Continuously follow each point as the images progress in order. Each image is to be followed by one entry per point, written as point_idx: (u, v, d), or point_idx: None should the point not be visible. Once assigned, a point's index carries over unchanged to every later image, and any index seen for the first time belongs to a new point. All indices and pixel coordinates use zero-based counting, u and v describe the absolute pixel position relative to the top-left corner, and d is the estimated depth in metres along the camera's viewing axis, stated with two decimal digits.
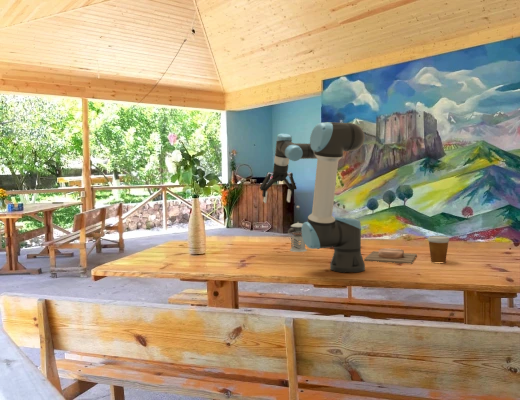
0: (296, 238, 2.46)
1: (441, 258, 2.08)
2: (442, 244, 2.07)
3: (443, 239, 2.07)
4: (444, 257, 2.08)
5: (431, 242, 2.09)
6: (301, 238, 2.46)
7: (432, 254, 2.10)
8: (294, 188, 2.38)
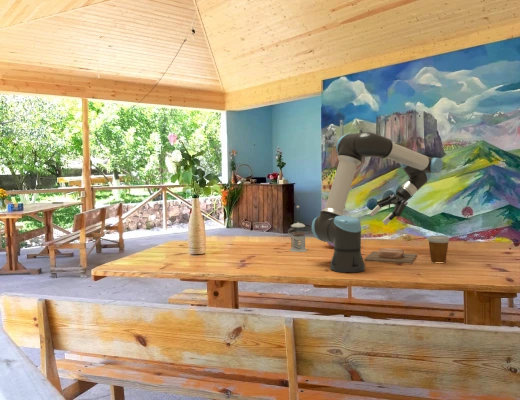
0: (296, 238, 2.45)
1: (441, 258, 2.08)
2: (442, 244, 2.07)
3: (443, 239, 2.07)
4: (444, 257, 2.08)
5: (431, 242, 2.09)
6: (301, 238, 2.46)
7: (432, 254, 2.10)
8: (396, 212, 2.29)
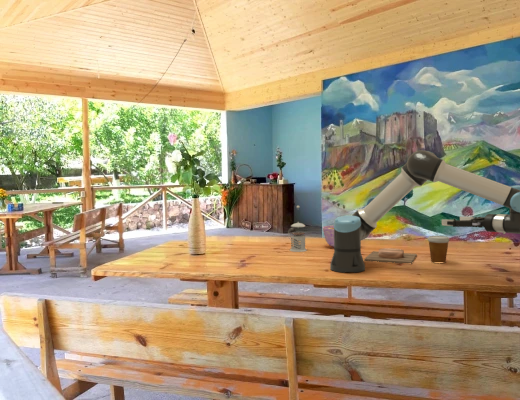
0: (296, 238, 2.46)
1: (441, 258, 2.08)
2: (442, 244, 2.07)
3: (443, 239, 2.07)
4: (444, 257, 2.08)
5: (431, 242, 2.09)
6: (301, 238, 2.46)
7: (432, 254, 2.10)
8: (454, 221, 1.94)
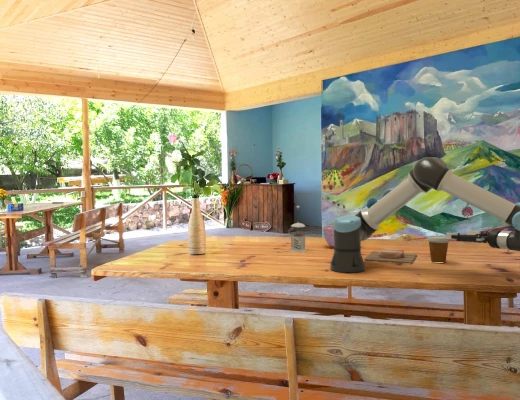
0: (296, 238, 2.46)
1: (441, 258, 2.08)
2: (442, 244, 2.07)
3: (443, 239, 2.07)
4: (444, 257, 2.08)
5: (431, 242, 2.09)
6: (301, 238, 2.46)
7: (432, 254, 2.10)
8: (458, 235, 1.91)
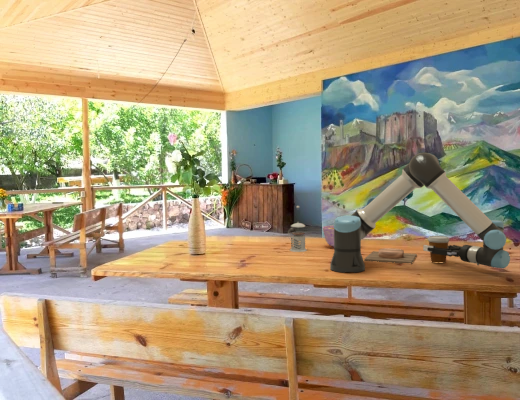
0: (296, 238, 2.46)
1: (441, 258, 2.08)
2: (442, 244, 2.07)
3: (443, 239, 2.07)
4: (444, 257, 2.08)
5: (431, 242, 2.09)
6: (301, 238, 2.46)
7: (432, 254, 2.10)
8: (434, 248, 2.05)
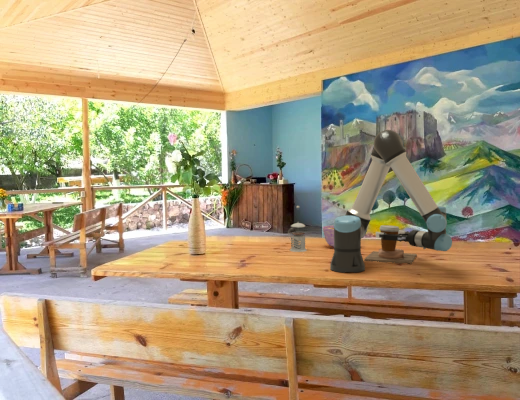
0: (296, 238, 2.46)
1: (390, 246, 2.18)
2: (392, 232, 2.16)
3: (393, 228, 2.16)
4: (393, 246, 2.18)
5: (382, 231, 2.19)
6: (301, 238, 2.46)
7: (382, 242, 2.19)
8: (384, 234, 2.14)
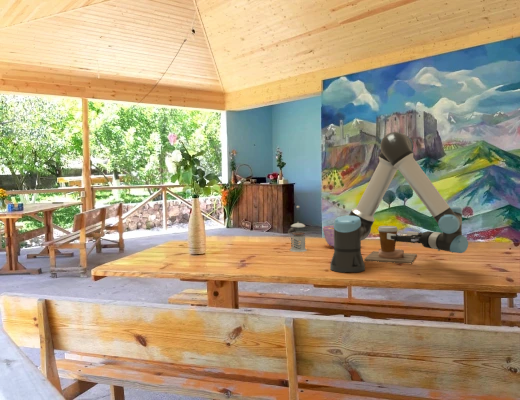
0: (296, 238, 2.46)
1: (391, 247, 2.17)
2: (392, 233, 2.16)
3: (392, 228, 2.15)
4: (393, 246, 2.18)
5: (381, 232, 2.18)
6: (301, 238, 2.46)
7: (382, 243, 2.18)
8: (396, 235, 2.07)
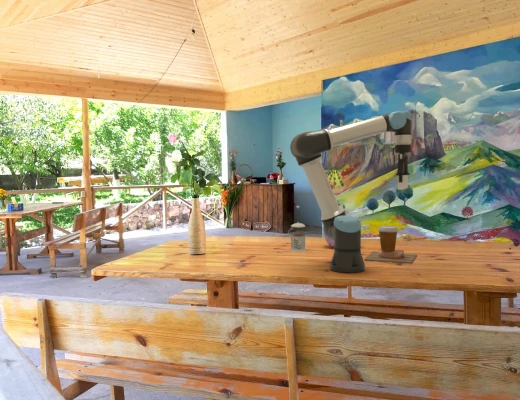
0: (296, 238, 2.46)
1: (391, 247, 2.17)
2: (392, 233, 2.16)
3: (393, 229, 2.15)
4: (393, 246, 2.18)
5: (381, 232, 2.18)
6: (301, 238, 2.46)
7: (382, 243, 2.18)
8: None
